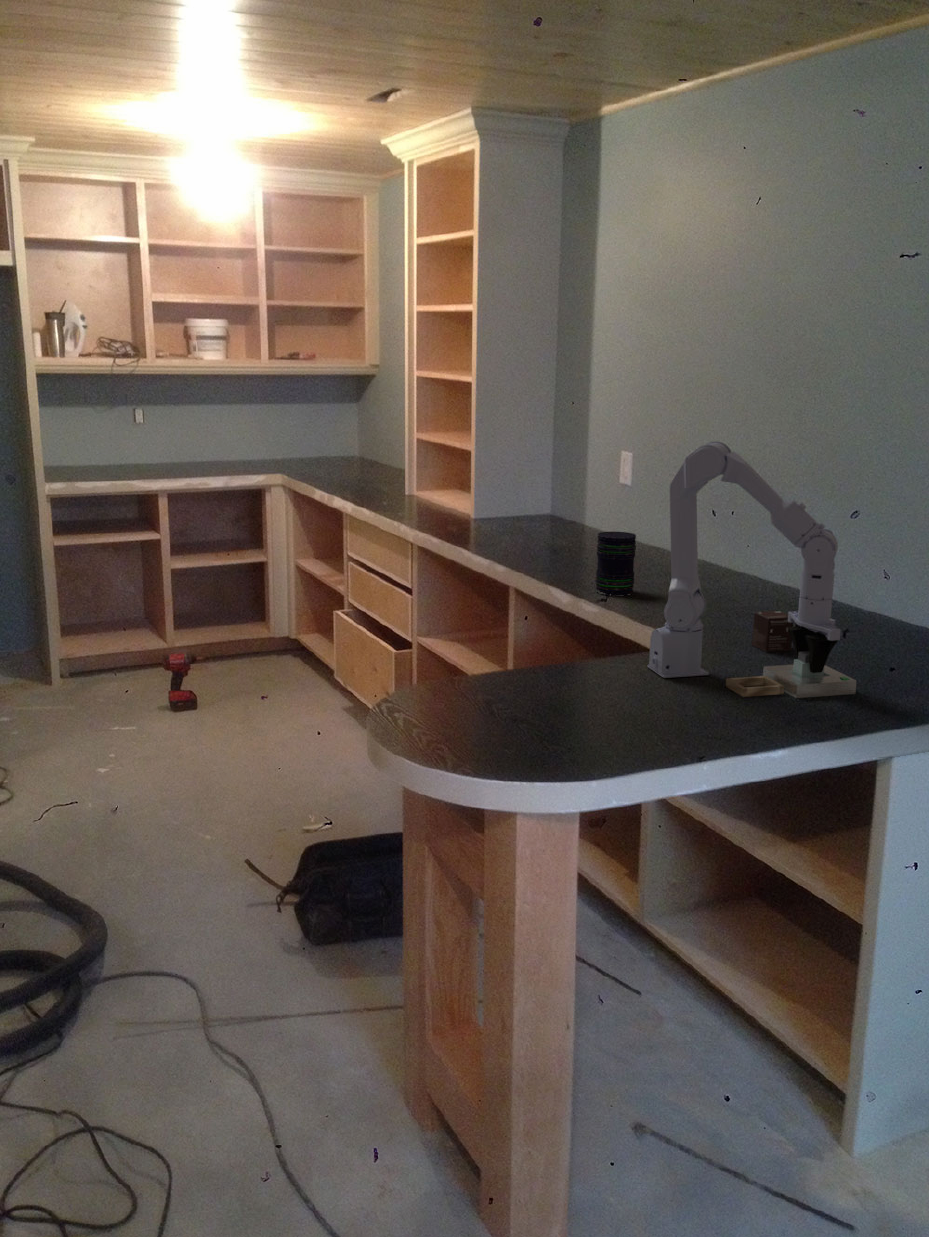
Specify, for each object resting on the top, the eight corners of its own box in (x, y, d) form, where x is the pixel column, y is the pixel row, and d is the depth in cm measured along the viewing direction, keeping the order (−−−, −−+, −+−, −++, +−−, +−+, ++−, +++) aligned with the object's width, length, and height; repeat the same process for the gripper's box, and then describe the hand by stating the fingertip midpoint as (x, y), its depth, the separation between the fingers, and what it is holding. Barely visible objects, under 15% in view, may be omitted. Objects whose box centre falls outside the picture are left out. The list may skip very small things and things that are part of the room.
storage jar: (641, 594, 280) (643, 536, 277) (606, 597, 277) (609, 538, 273) (621, 587, 289) (624, 530, 286) (588, 589, 286) (590, 532, 282)
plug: (800, 689, 203) (803, 655, 202) (791, 685, 206) (794, 651, 204) (822, 688, 204) (825, 654, 203) (813, 683, 207) (816, 650, 206)
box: (765, 653, 228) (768, 618, 226) (750, 645, 233) (753, 611, 232) (791, 651, 229) (794, 616, 228) (776, 643, 235) (779, 610, 233)
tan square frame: (742, 696, 199) (743, 688, 198) (725, 686, 205) (726, 678, 204) (783, 694, 200) (784, 686, 200) (765, 683, 207) (765, 675, 206)
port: (796, 698, 198) (797, 683, 198) (762, 679, 209) (763, 665, 209) (855, 693, 201) (856, 679, 200) (819, 675, 212) (820, 661, 212)
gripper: (858, 604, 195) (851, 678, 199) (813, 587, 209) (807, 656, 212) (822, 606, 194) (816, 680, 197) (780, 589, 207) (774, 659, 211)
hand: (809, 668), depth 204 cm, fingers open, 4 cm apart
